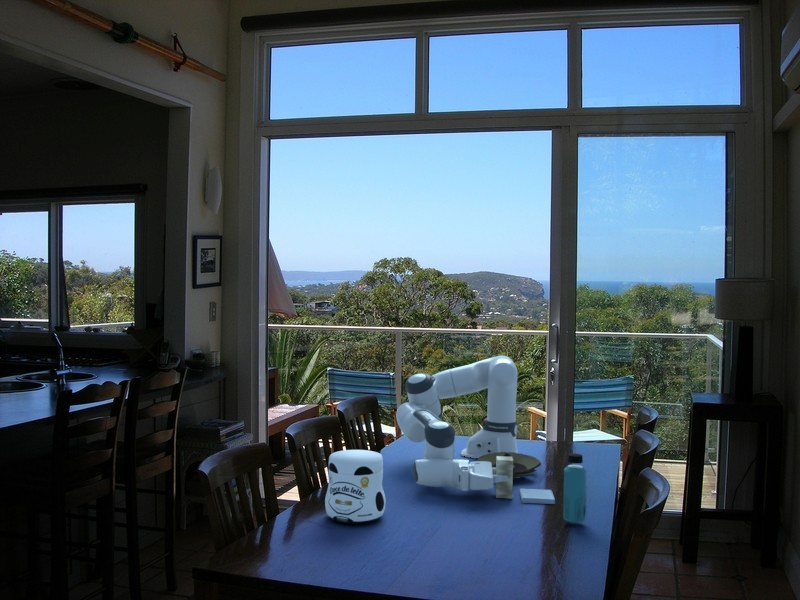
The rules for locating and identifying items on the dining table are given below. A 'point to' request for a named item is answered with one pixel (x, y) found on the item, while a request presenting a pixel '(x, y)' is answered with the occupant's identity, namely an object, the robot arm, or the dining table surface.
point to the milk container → (355, 486)
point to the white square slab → (537, 496)
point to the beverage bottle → (575, 490)
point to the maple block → (504, 468)
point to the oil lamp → (515, 462)
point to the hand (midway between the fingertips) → (507, 475)
